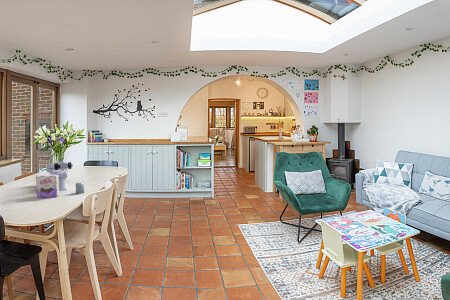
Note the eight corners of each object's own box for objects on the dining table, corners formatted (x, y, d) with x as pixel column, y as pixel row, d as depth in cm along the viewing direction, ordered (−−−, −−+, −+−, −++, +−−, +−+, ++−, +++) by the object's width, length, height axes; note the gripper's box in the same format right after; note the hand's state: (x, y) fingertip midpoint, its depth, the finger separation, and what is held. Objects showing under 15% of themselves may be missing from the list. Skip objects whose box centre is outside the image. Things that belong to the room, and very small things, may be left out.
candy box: (36, 198, 228) (35, 176, 227) (39, 196, 234) (38, 174, 233) (56, 197, 231) (56, 175, 230) (59, 195, 237) (58, 174, 235)
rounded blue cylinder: (74, 192, 245) (74, 183, 245) (82, 191, 249) (82, 182, 249) (77, 194, 241) (76, 184, 240) (85, 193, 245) (84, 183, 244)
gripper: (50, 161, 247) (54, 162, 236) (70, 160, 256) (74, 160, 246) (51, 170, 247) (55, 171, 237) (70, 168, 256) (75, 169, 246)
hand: (65, 166), depth 241 cm, fingers open, 7 cm apart
